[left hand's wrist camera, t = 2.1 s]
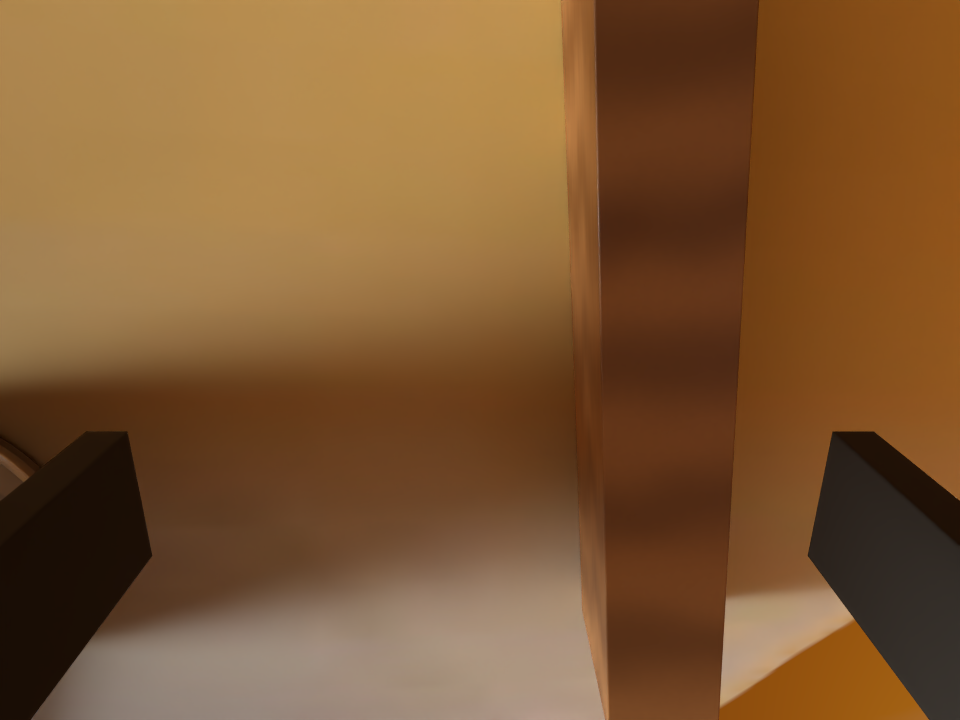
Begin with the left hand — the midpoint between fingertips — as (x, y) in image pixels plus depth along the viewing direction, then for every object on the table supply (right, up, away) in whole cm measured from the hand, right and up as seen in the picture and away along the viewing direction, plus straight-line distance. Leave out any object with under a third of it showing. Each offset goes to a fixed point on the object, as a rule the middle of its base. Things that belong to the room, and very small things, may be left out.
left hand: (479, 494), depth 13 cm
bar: (+7, +4, +19) cm, 20 cm away
